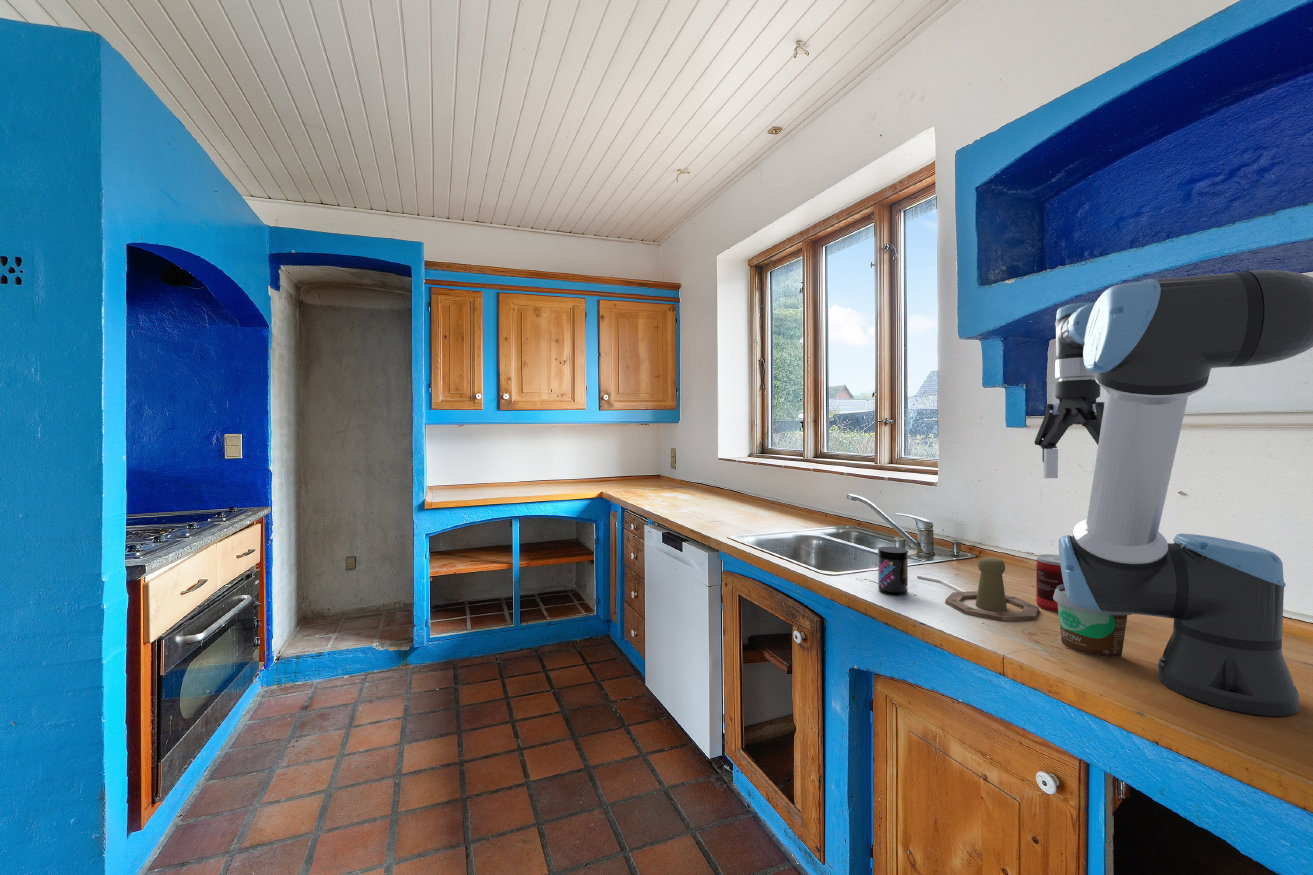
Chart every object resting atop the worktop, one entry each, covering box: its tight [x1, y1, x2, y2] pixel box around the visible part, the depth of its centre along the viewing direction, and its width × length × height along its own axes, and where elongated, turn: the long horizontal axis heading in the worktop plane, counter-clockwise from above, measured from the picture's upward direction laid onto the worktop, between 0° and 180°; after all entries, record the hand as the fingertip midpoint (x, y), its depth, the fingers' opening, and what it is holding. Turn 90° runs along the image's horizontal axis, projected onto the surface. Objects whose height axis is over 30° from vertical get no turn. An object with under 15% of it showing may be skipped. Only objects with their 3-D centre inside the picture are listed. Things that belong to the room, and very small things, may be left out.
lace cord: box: [916, 574, 967, 592], centre depth 141 cm, size 15×4×1 cm, turn 5°
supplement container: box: [877, 545, 909, 596], centre depth 136 cm, size 7×7×10 cm
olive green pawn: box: [975, 556, 1008, 613], centre depth 124 cm, size 6×6×11 cm
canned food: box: [1035, 553, 1065, 613], centre depth 124 cm, size 8×8×11 cm
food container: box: [1053, 584, 1133, 658], centre depth 102 cm, size 12×6×10 cm, turn 19°
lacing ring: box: [945, 590, 1040, 622], centre depth 125 cm, size 17×17×1 cm
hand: (1076, 481), depth 117 cm, fingers open, 13 cm apart
